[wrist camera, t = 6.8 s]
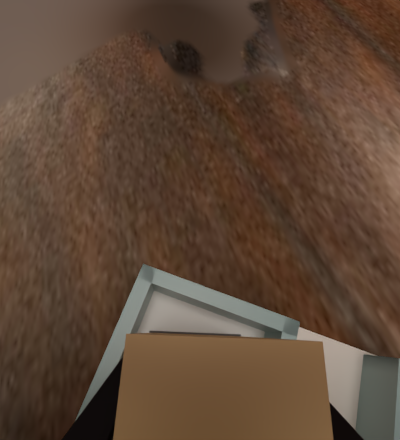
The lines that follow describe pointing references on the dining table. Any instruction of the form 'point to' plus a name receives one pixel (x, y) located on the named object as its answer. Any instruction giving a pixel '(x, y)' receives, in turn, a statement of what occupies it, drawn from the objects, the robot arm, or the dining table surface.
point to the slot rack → (262, 328)
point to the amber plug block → (222, 388)
